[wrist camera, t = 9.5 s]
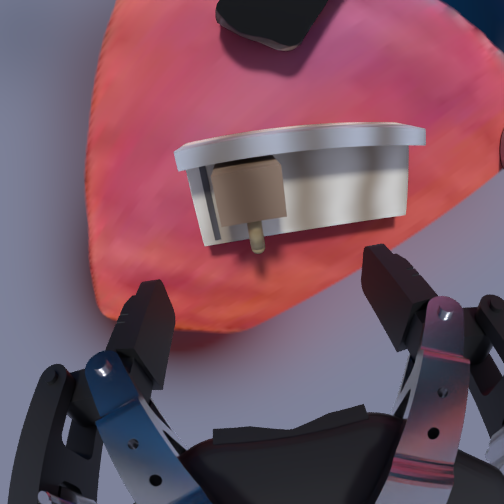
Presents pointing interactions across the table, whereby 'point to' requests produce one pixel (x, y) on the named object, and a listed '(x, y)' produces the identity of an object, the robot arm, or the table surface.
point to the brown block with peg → (249, 194)
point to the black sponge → (270, 20)
